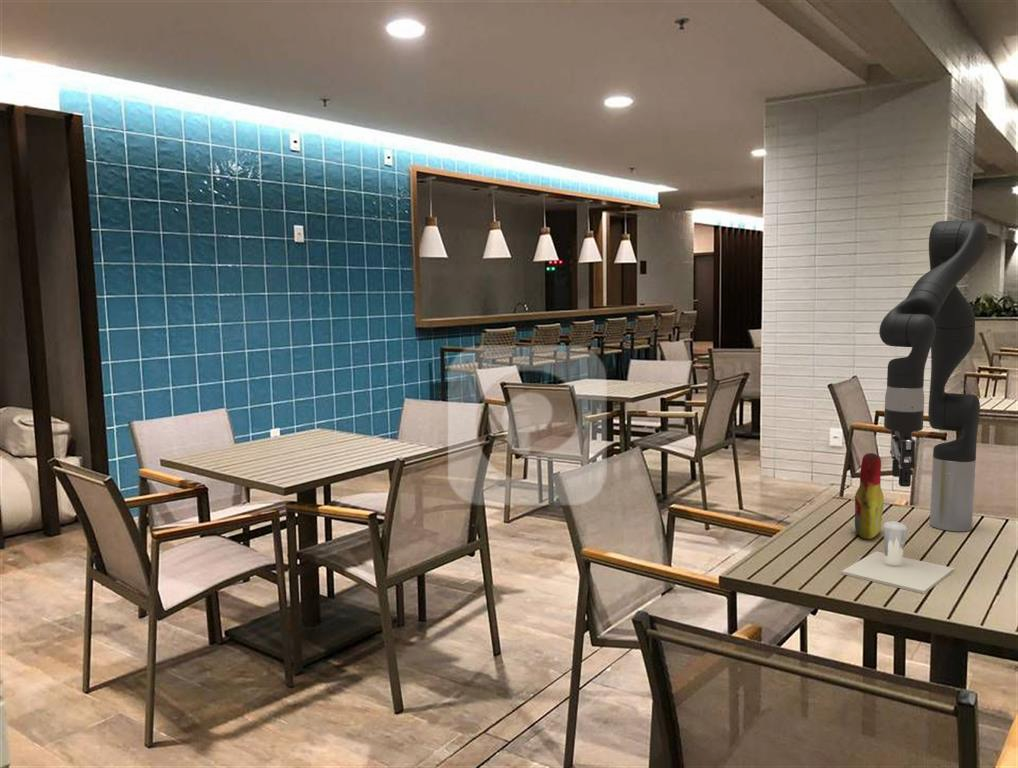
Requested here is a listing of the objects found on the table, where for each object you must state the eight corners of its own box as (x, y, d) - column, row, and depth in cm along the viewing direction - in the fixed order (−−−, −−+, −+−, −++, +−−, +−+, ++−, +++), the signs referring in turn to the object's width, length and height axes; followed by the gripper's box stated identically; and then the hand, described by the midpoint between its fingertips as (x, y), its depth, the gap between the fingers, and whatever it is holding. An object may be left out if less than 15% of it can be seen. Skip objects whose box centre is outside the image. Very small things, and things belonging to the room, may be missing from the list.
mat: (875, 553, 178) (875, 551, 178) (954, 570, 167) (954, 568, 167) (841, 573, 166) (841, 571, 166) (923, 593, 154) (924, 590, 154)
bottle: (879, 543, 186) (882, 459, 183) (849, 539, 189) (852, 456, 187) (884, 530, 196) (887, 450, 194) (856, 526, 199) (859, 447, 197)
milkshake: (911, 568, 167) (914, 521, 166) (884, 566, 168) (886, 520, 167) (905, 561, 171) (908, 515, 170) (879, 559, 172) (881, 514, 171)
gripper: (930, 413, 163) (926, 490, 165) (917, 402, 177) (913, 474, 179) (890, 412, 165) (887, 488, 167) (880, 401, 179) (877, 472, 181)
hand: (900, 481), depth 173 cm, fingers open, 8 cm apart
